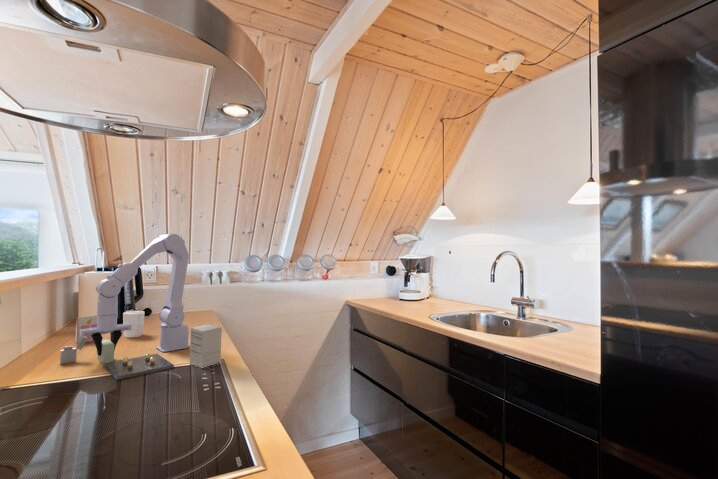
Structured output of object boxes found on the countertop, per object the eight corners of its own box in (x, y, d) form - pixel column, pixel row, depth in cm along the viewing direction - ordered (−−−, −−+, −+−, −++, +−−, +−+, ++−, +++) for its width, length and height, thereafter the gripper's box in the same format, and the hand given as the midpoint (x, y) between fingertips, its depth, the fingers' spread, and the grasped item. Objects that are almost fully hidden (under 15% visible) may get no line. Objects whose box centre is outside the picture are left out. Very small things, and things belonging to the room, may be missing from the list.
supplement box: (208, 359, 130) (209, 323, 130) (221, 364, 125) (222, 327, 125) (188, 364, 124) (190, 327, 124) (201, 369, 119) (202, 330, 119)
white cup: (127, 339, 152) (128, 315, 152) (118, 336, 156) (119, 312, 156) (147, 335, 158) (148, 312, 158) (138, 332, 163) (139, 310, 163)
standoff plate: (156, 356, 131) (157, 348, 131) (173, 367, 120) (174, 358, 120) (103, 366, 119) (103, 357, 119) (116, 380, 108) (117, 369, 108)
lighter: (60, 364, 120) (61, 339, 120) (59, 362, 121) (60, 338, 121) (87, 359, 125) (88, 336, 125) (86, 358, 126) (87, 335, 126)
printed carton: (75, 341, 146) (76, 316, 146) (95, 338, 151) (96, 314, 151) (76, 343, 143) (77, 318, 143) (97, 340, 148) (98, 316, 148)
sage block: (107, 356, 129) (108, 339, 129) (113, 361, 124) (114, 344, 124) (97, 358, 127) (98, 340, 127) (103, 363, 122) (103, 345, 122)
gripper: (128, 310, 134) (126, 347, 134) (78, 314, 123) (77, 355, 123) (133, 313, 129) (132, 351, 129) (83, 318, 118) (81, 360, 118)
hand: (105, 353), depth 126 cm, fingers closed on sage block, 3 cm apart
